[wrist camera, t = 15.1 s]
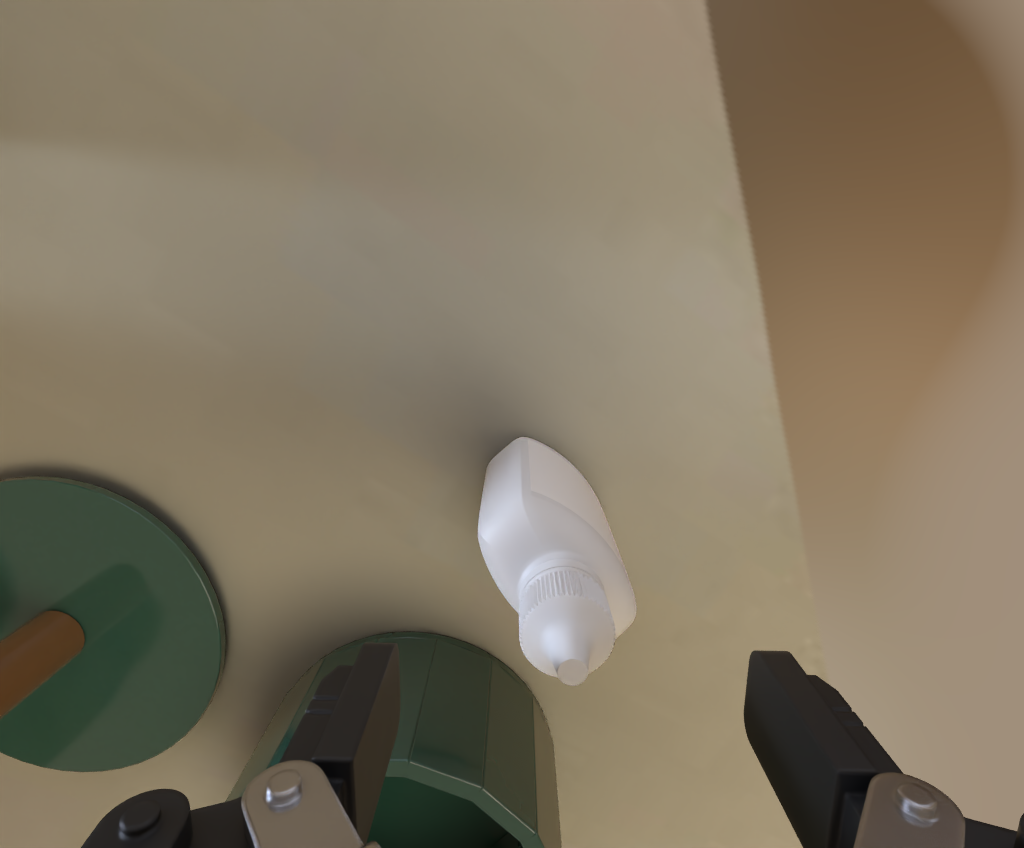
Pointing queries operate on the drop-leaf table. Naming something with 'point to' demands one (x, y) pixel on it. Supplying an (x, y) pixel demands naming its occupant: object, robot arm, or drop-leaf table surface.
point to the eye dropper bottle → (554, 560)
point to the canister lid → (99, 628)
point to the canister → (445, 749)
